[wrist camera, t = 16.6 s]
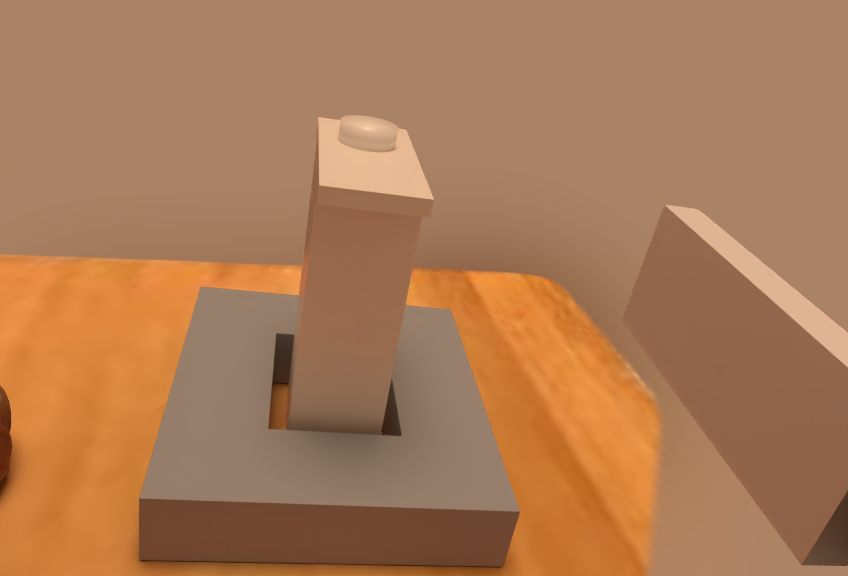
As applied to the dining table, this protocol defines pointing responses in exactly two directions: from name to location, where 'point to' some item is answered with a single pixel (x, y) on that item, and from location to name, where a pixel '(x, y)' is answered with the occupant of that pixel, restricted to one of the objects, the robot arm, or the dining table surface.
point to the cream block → (354, 274)
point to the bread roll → (4, 434)
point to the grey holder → (322, 454)
